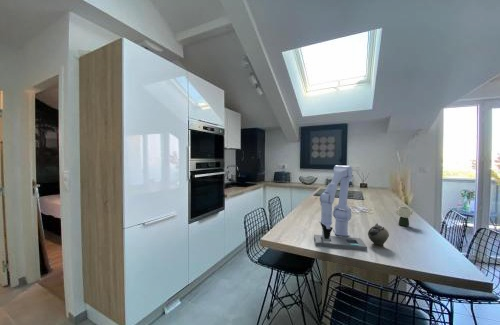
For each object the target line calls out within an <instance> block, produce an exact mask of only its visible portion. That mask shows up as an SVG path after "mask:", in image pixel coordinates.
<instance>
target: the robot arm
mask: <svg viewBox="0 0 500 325" xmlns="http://www.w3.org/2000/svg"><path fill="white" fill-rule="evenodd" d="M352 178H353V168H352V166H351V165H340V164H339V165H338V164H336V165H334V167H333V177H332V178H331V182H329V183H328V184H327V186H326V188H325V189H324V191H323V193H320V196H319V202H320V206H321V214H320V215H321V220H319V221H318V223H319V224H320V226H321V229H322V228H323V231H324V237H325V239H329V236H331V232H332V231H333V232H334V234H335V236H340V237H351V236H350V234H349V232H348V231H349V221H351V219H352V209H351V208H350V207H349V206H348V195H349V184H350V180H352ZM339 183H340V184H339ZM338 184H339V186H338ZM338 187H339V188H338ZM338 189H339V194H338V196H339V197H338V204H336V205H335V206H334V207H333V204H334V202H335V197H336V196H335V195H336V193H337V191H338ZM333 218H334V220H335V221H334V228H333V227H332V224H333V221H332V220H333Z"/></svg>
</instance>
